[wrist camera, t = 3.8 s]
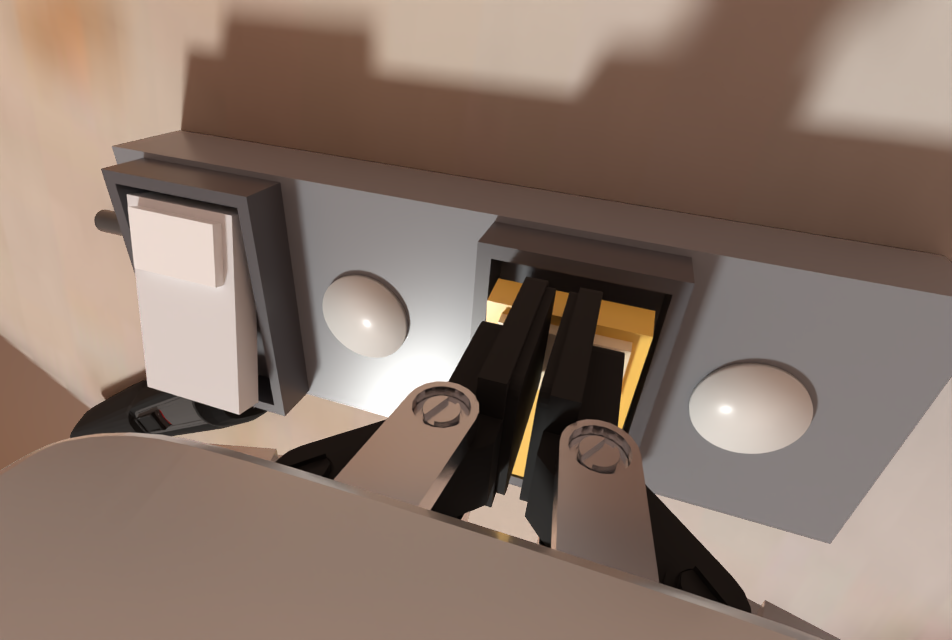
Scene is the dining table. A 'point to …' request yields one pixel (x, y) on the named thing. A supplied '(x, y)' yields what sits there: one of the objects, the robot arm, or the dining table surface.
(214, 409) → the electric trimmer
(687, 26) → the dining table surface
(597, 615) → the robot arm
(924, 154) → the dining table surface
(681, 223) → the power strip
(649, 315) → the amber rocker
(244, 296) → the white rocker switch
